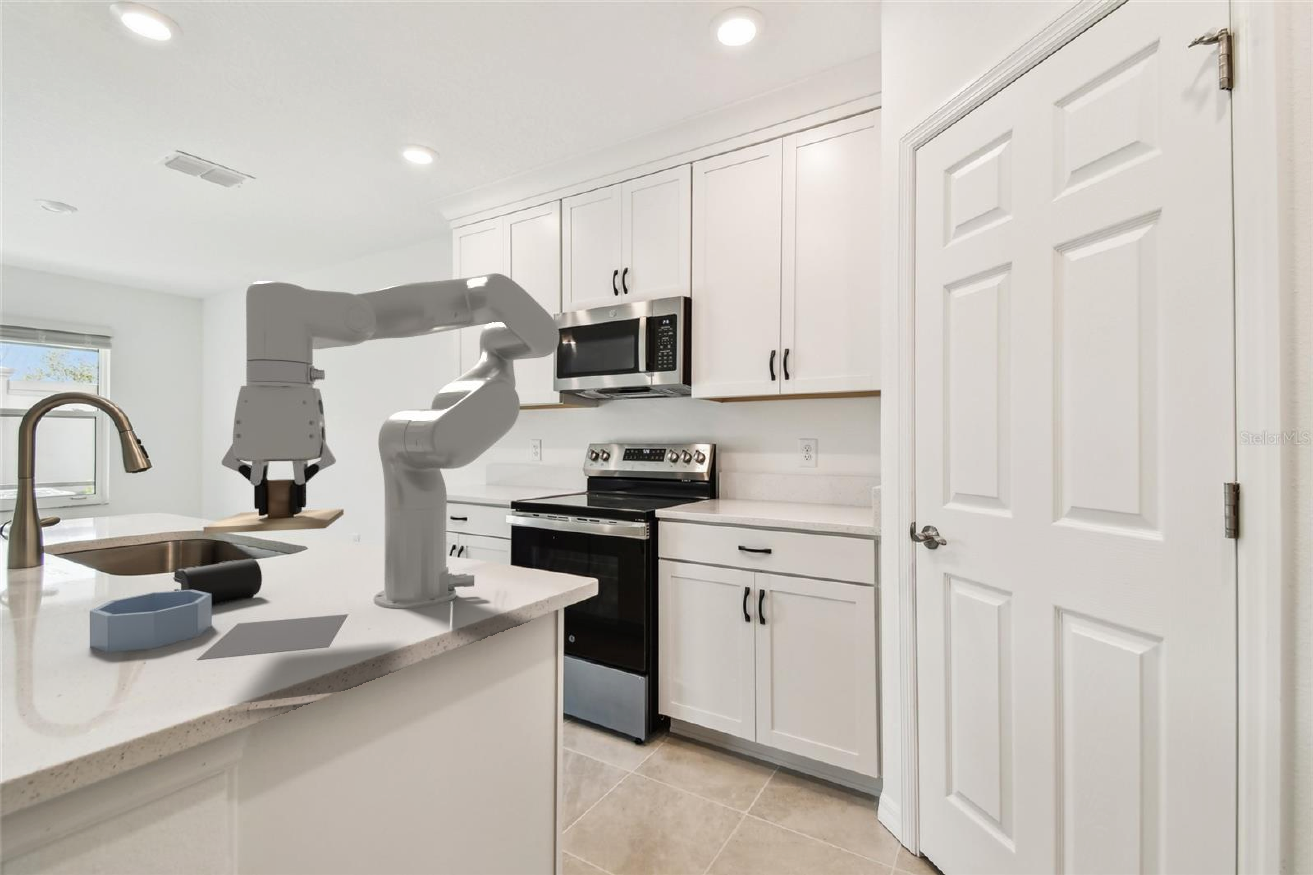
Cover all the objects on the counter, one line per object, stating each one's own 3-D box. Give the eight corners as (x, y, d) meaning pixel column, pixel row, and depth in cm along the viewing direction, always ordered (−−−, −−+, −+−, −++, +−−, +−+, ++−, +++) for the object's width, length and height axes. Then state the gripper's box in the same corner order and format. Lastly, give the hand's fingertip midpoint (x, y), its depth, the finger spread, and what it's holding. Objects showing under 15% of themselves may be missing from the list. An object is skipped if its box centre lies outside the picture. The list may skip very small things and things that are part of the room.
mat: (347, 618, 88) (347, 614, 88) (328, 651, 75) (328, 646, 75) (238, 627, 84) (238, 623, 83) (196, 664, 70) (196, 659, 70)
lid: (343, 514, 87) (343, 475, 87) (325, 528, 75) (325, 483, 75) (240, 518, 83) (240, 477, 83) (203, 533, 71) (203, 485, 71)
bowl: (220, 621, 86) (220, 587, 86) (186, 649, 75) (186, 610, 75) (124, 629, 82) (123, 594, 82) (73, 659, 71) (73, 619, 71)
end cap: (189, 617, 88) (189, 572, 88) (170, 609, 92) (170, 566, 92) (262, 601, 97) (262, 560, 97) (242, 594, 101) (242, 555, 101)
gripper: (352, 381, 85) (353, 508, 85) (218, 377, 80) (219, 512, 80) (343, 376, 78) (343, 515, 78) (195, 372, 73) (196, 520, 73)
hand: (280, 512), depth 79 cm, fingers closed on lid, 3 cm apart
